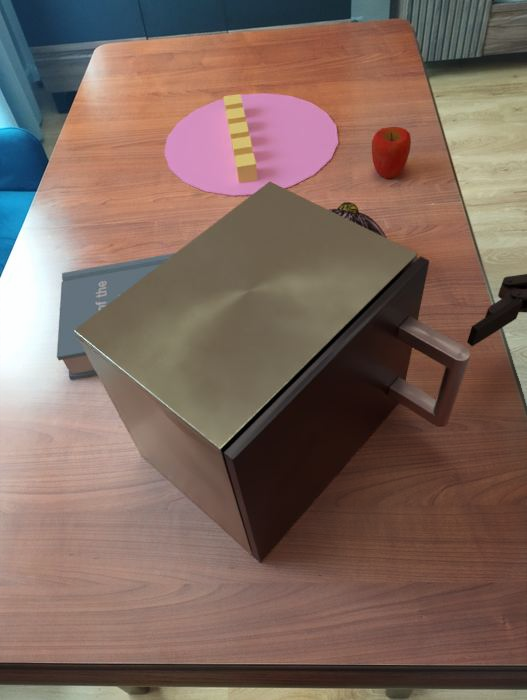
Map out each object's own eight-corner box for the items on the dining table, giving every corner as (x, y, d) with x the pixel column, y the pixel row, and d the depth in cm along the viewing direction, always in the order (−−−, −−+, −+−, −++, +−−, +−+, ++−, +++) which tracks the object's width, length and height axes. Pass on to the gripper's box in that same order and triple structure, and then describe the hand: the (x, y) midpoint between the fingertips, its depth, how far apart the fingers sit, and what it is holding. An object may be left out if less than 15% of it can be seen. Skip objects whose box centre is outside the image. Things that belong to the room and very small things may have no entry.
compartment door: (453, 432, 67) (501, 295, 49) (312, 610, 57) (307, 521, 39) (395, 395, 71) (420, 255, 53) (253, 557, 61) (222, 452, 42)
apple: (386, 156, 101) (390, 116, 95) (415, 171, 98) (421, 130, 92) (361, 173, 98) (364, 133, 92) (390, 188, 95) (395, 148, 89)
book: (70, 379, 77) (56, 357, 73) (74, 292, 87) (62, 268, 83) (239, 348, 78) (235, 324, 74) (224, 265, 88) (219, 240, 84)
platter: (167, 209, 97) (163, 192, 94) (161, 107, 116) (157, 91, 114) (357, 179, 97) (358, 162, 95) (319, 83, 117) (319, 66, 114)
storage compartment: (393, 395, 71) (418, 253, 53) (252, 555, 61) (220, 449, 42) (282, 325, 80) (269, 180, 61) (141, 456, 69) (73, 330, 50)
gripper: (758, 381, 59) (618, 494, 53) (558, 247, 73) (429, 325, 67) (807, 335, 53) (655, 456, 47) (579, 199, 67) (439, 280, 61)
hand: (522, 380), depth 57 cm, fingers open, 13 cm apart
